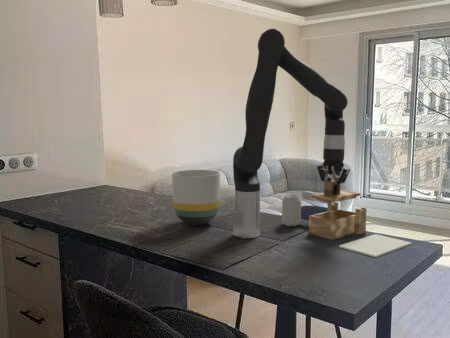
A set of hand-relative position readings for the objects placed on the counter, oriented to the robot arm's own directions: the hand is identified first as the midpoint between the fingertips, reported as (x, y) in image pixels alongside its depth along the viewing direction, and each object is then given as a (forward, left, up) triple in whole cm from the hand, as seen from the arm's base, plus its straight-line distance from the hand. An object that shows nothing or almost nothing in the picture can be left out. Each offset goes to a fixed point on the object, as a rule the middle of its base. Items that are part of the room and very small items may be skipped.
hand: (332, 193), depth 162 cm
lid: (+2, 0, -2) cm, 3 cm away
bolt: (+9, +15, -6) cm, 19 cm away
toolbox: (+3, 0, -16) cm, 16 cm away
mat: (0, -19, -16) cm, 25 cm away
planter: (-30, +45, -16) cm, 56 cm away
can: (-1, +19, -16) cm, 25 cm away
